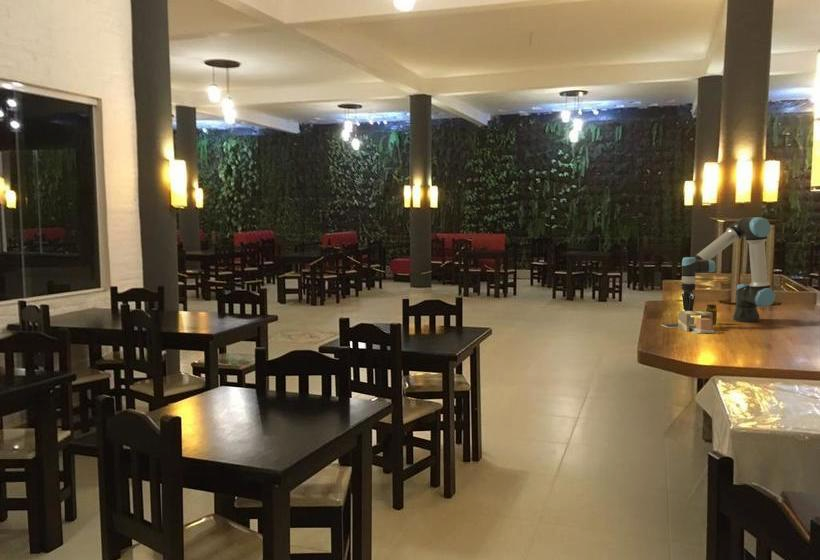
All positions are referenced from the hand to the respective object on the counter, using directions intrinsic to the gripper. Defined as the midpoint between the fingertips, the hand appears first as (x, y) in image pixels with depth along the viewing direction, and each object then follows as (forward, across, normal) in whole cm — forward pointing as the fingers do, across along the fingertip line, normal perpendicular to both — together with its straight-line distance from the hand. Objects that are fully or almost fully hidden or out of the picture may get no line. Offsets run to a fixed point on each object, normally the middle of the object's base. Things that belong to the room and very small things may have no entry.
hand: (687, 322), depth 414 cm
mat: (+3, +20, 0) cm, 20 cm away
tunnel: (+3, +10, 0) cm, 10 cm away
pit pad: (+3, -4, -4) cm, 6 cm away
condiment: (+3, -7, +17) cm, 19 cm away
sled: (+2, +12, 0) cm, 13 cm away
